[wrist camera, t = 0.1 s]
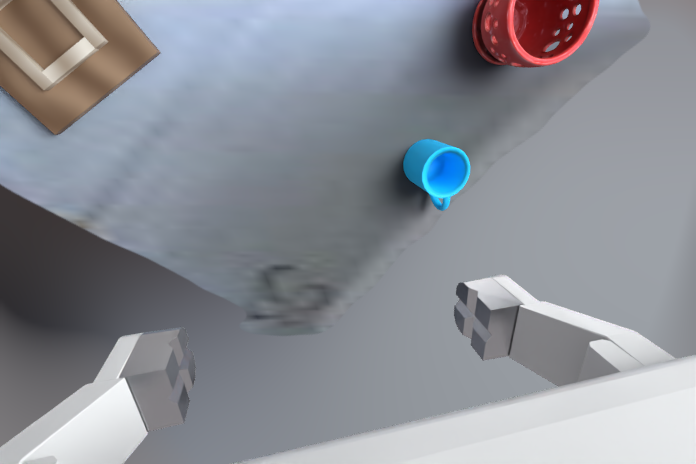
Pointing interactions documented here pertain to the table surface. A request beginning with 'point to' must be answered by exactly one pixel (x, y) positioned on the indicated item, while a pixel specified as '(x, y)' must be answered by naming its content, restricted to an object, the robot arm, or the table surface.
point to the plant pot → (530, 30)
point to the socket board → (67, 55)
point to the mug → (437, 169)
